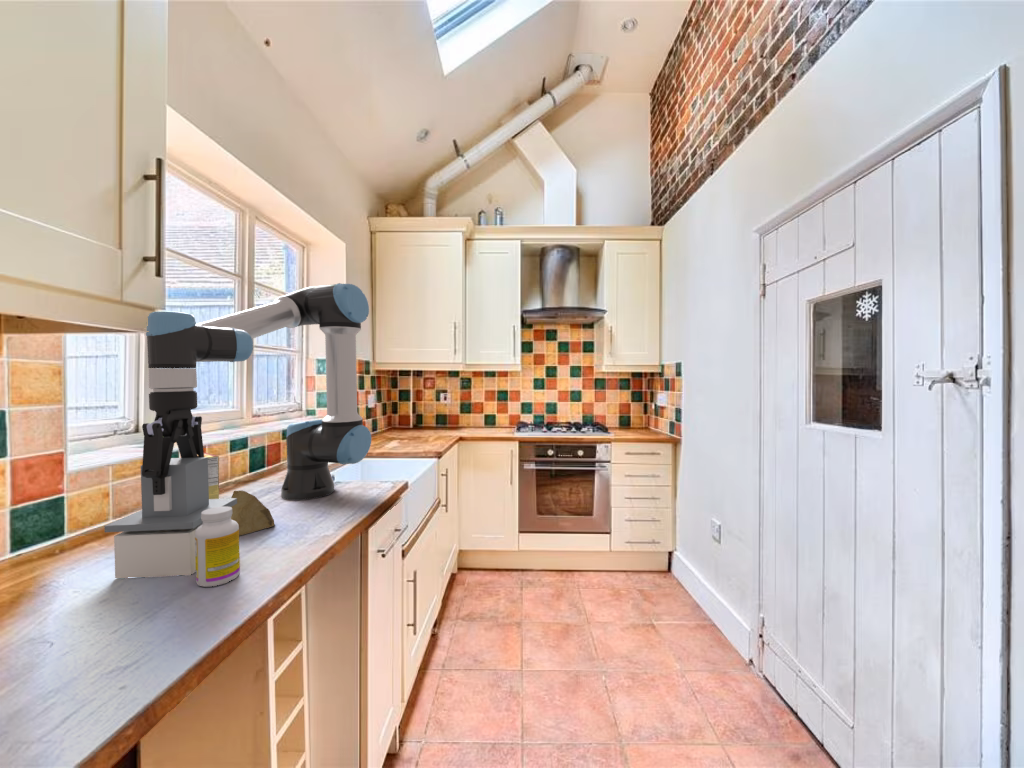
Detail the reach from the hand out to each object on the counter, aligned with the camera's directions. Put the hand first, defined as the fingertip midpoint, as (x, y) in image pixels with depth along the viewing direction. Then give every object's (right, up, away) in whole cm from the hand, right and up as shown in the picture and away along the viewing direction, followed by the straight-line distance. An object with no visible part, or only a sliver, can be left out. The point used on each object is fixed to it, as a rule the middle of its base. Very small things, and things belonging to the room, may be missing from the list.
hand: (176, 503), depth 85 cm
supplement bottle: (+13, -12, -7) cm, 19 cm away
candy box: (-19, -11, +33) cm, 40 cm away
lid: (0, -3, 0) cm, 3 cm away
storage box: (0, -12, 0) cm, 12 cm away
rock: (+4, -12, +17) cm, 21 cm away
